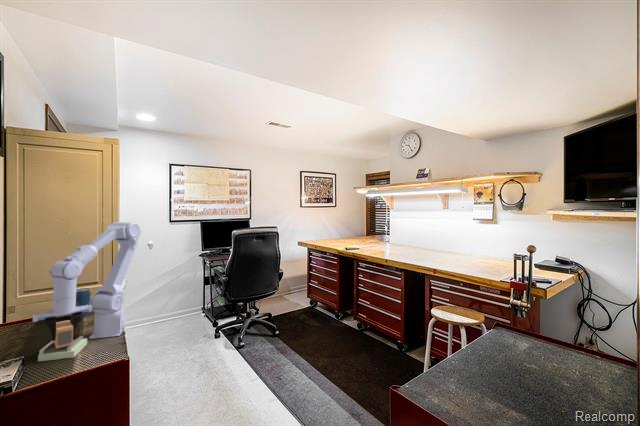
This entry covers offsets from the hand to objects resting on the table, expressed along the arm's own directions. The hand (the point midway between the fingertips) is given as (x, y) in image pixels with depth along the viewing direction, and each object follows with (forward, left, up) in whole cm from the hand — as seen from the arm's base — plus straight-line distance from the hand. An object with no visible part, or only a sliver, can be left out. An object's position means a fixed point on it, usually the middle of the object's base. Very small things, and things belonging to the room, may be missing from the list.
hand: (62, 337), depth 94 cm
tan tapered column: (0, 0, -2) cm, 2 cm away
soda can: (+9, -37, -5) cm, 38 cm away
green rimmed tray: (0, 0, -5) cm, 5 cm away
